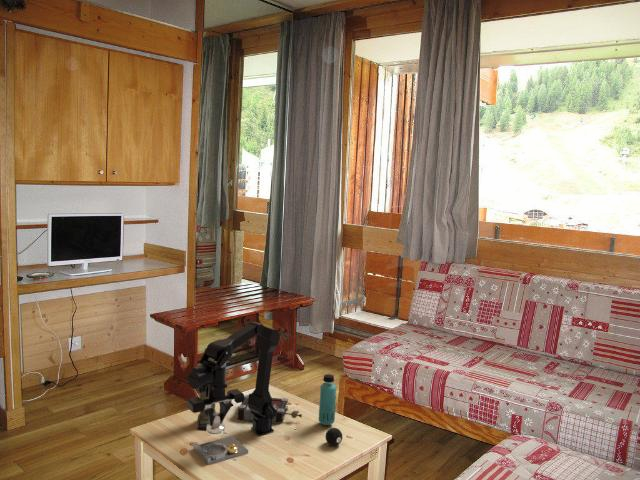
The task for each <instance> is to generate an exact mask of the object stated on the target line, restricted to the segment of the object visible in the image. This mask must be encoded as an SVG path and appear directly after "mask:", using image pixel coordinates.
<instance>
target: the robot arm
mask: <svg viewBox="0 0 640 480" xmlns="http://www.w3.org/2000/svg"><path fill="white" fill-rule="evenodd" d="M253 338H256V345H257V348H258V350H259V353H258V362H257V369H256V370H257V371H256V380H255V388H254V390H253V391H252V393H249V394H248V395H249V399H248V403H247V404H248V407H249V409H250V412H251V413H252V414H255V415H254V419H253V421H252V424H251V425H252V426H251V430H252V432H254V433H255V434H257V435H258V436H263V435H267V434H270V433H274V432H275V429H273V423H272V419H273V417H275V416H276V412H277V410H276V409H275V408H274V407H273V406H272V398H273V397H272V395H271V392H270V390H269V389H270V383H271V372H272V364H273V356H274V351H275V350H276V349H277V348H278V346H279V342H280V338H281V333H280V332H279V330H278V329H276V328H272V327H268V326H265V325H263V324H261V323H259V322H255V321H249V322H248V323H247V325H245V326H244V327H242V328H240V329H239V330H237V331H235V332H234V333H232V334H231V335H229V336H228V337H226V338H223V339H217V340H214V341H212V342H209V344H208V345H206V347H205V348H206V350H205V349H204V351H205V352H203V355H202V356H201V358H200V360H199V361H198V364H199V365H198V366H193V367H192V369H191V371H190V372H189V373H188V376H187V383H188V385H189V387H190V388H191V389H193V390H195V392H196V393H197V394H200V393H201V394H202V395H203V394H205V397H208V399H205V400H202V399H200V396H196V397H192V398H188V400H187V402H186V408H188V409H189V410H190V411H191V412H192V413H194V414H197V413H200V412H201V411H204V412H205V413H206V416H207V419H208V422H209V425H210V426H212V424H213V411H214V410H213V409H212V408H211V405H212V404H214V403H215V404H219V413H220V414H221V423H220V424H222V423H223V422H224V420H225V418H226V416H227V414H228V413H229V411H230V409H231V408H232V407H234V404H233V402H232V401H234V402H235V403H236V404H239V403H240V404H241V403H242V402H244V399H245V394H244V393H243V392H242V391H241V390H239V389H238V388H234V389H230V390H227V391H226V389H227V388H228V384H227V383H226V380H227V379H226V374H227V373H226V372H227V367H229V366H231V362H230V361H229V359H230V358H231V357H233V354H234V352H235V351H236V350H237V349H239V348H240V347H242V345H244V344H245V343H247V342H249V341H250V340H251V339H253ZM208 359H211V360H214V361H217V362H212V361H209V360H208ZM271 397H272V398H271Z"/></svg>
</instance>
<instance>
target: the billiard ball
mask: <svg viewBox="0 0 640 480" xmlns="http://www.w3.org/2000/svg"><path fill="white" fill-rule="evenodd" d="M325 441H326V442H327V444H329V446H333V447H334V446H339V445H340V444H341V443H342V441H343V433H342V431H341V430H340V429H339V428H337V427H330V428H329V429H328V430H327V431H326V433H325Z"/></svg>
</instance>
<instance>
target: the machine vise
mask: <svg viewBox="0 0 640 480" xmlns="http://www.w3.org/2000/svg"><path fill="white" fill-rule="evenodd" d="M244 396H245V399H244V402H240V404H239V406H238V408H237V420H244V421H249V422H253V419H254V415H255V414H252V413H251V412H250V409H249V407H248V404H247V403H248V399H249V394H244ZM271 398H272V406H273V407H274V408H275V409H276V410H277V412H276V416H275V417H273V419H272V424H276V423H277V424H282V423H283V422H284V421H285V415H290V416H291V418H293V419H296V418H297V417H300V418H302V415H303V414H302V413H301V414H299V412H300V411H299V410H293V411H292V412H291V413H289V412H288V409H289V405H287V404H288V403H289V398H286V397H282V398H279V397H272V396H271ZM287 412H288V413H287Z"/></svg>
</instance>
